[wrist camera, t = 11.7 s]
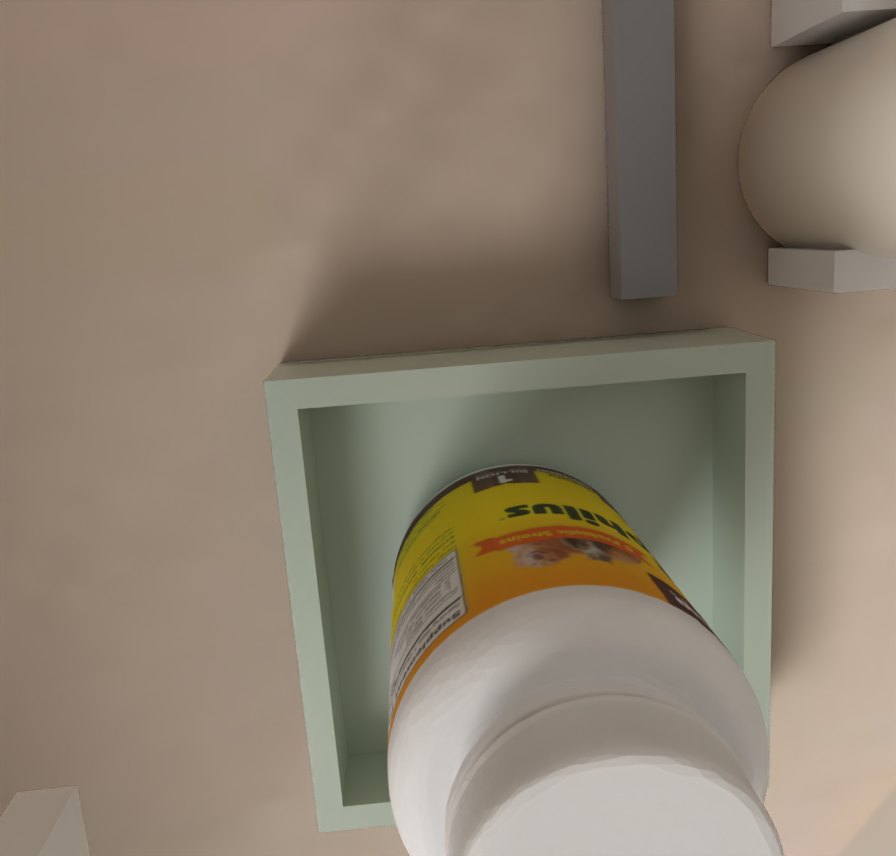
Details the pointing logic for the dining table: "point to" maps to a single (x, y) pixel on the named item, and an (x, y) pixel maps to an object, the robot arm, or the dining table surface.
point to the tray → (497, 443)
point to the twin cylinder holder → (762, 148)
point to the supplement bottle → (561, 687)
